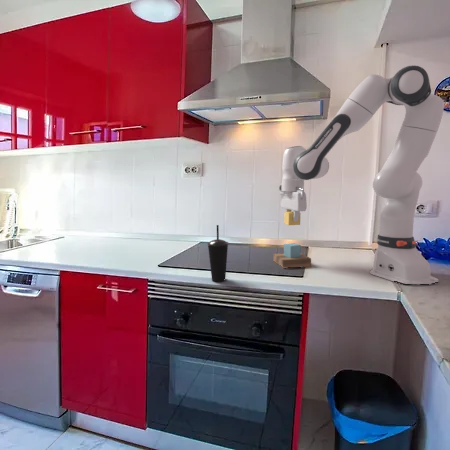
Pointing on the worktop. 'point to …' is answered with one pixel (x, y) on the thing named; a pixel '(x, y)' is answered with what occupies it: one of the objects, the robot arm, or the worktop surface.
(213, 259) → the drinking cup
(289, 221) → the mustard cube
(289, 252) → the teal cube
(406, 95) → the robot arm
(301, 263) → the walnut base
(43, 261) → the worktop surface
